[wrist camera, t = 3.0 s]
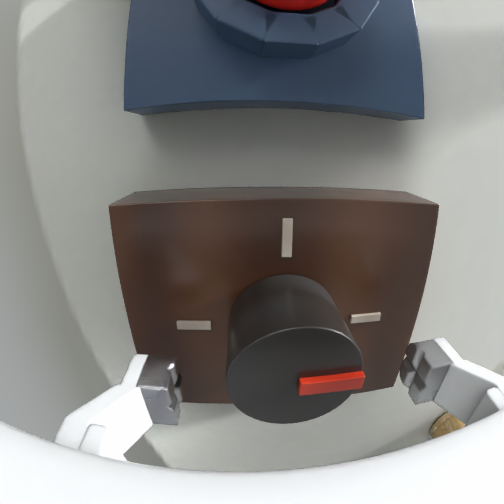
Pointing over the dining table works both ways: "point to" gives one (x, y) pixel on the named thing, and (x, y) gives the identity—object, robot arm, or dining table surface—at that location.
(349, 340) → the dial
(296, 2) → the button
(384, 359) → the dial panel
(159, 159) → the dining table surface
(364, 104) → the button housing
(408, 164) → the dining table surface
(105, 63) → the dining table surface
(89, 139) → the dining table surface
